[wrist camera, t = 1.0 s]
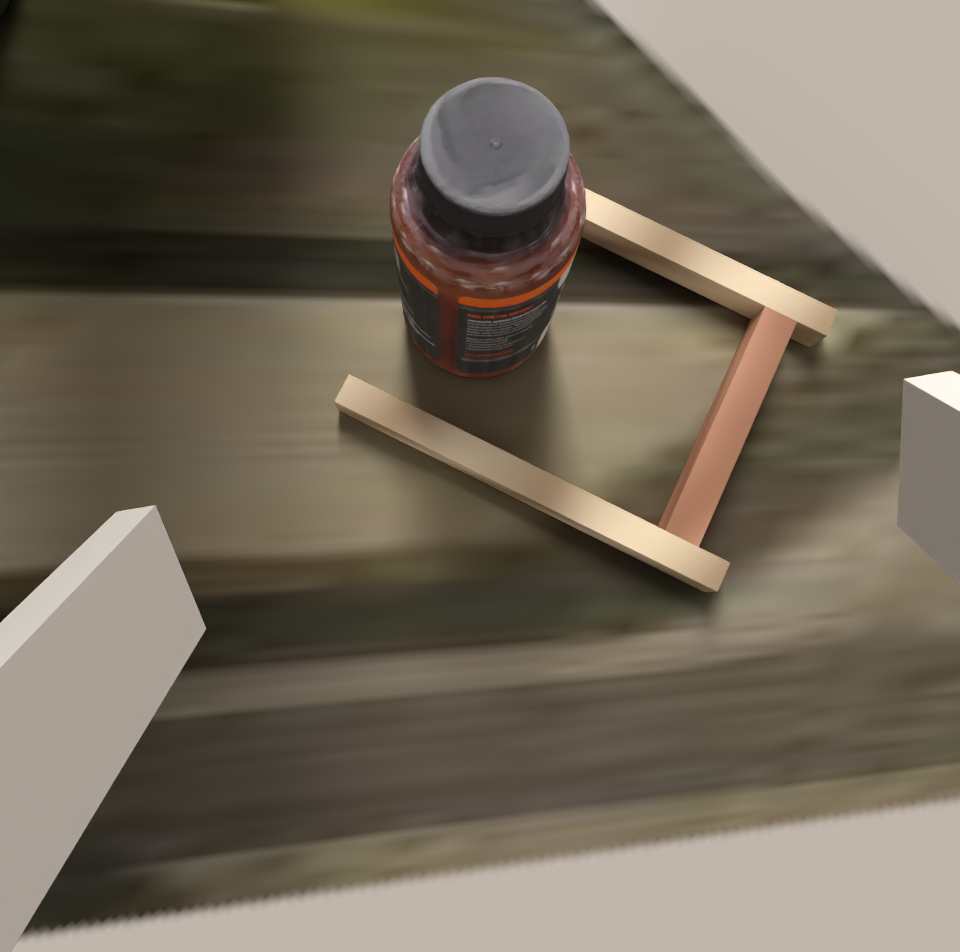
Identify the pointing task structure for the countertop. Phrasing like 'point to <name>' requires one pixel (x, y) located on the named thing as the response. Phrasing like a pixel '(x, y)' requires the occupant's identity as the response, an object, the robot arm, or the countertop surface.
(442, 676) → the countertop surface
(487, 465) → the guide channel
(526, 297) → the supplement bottle
